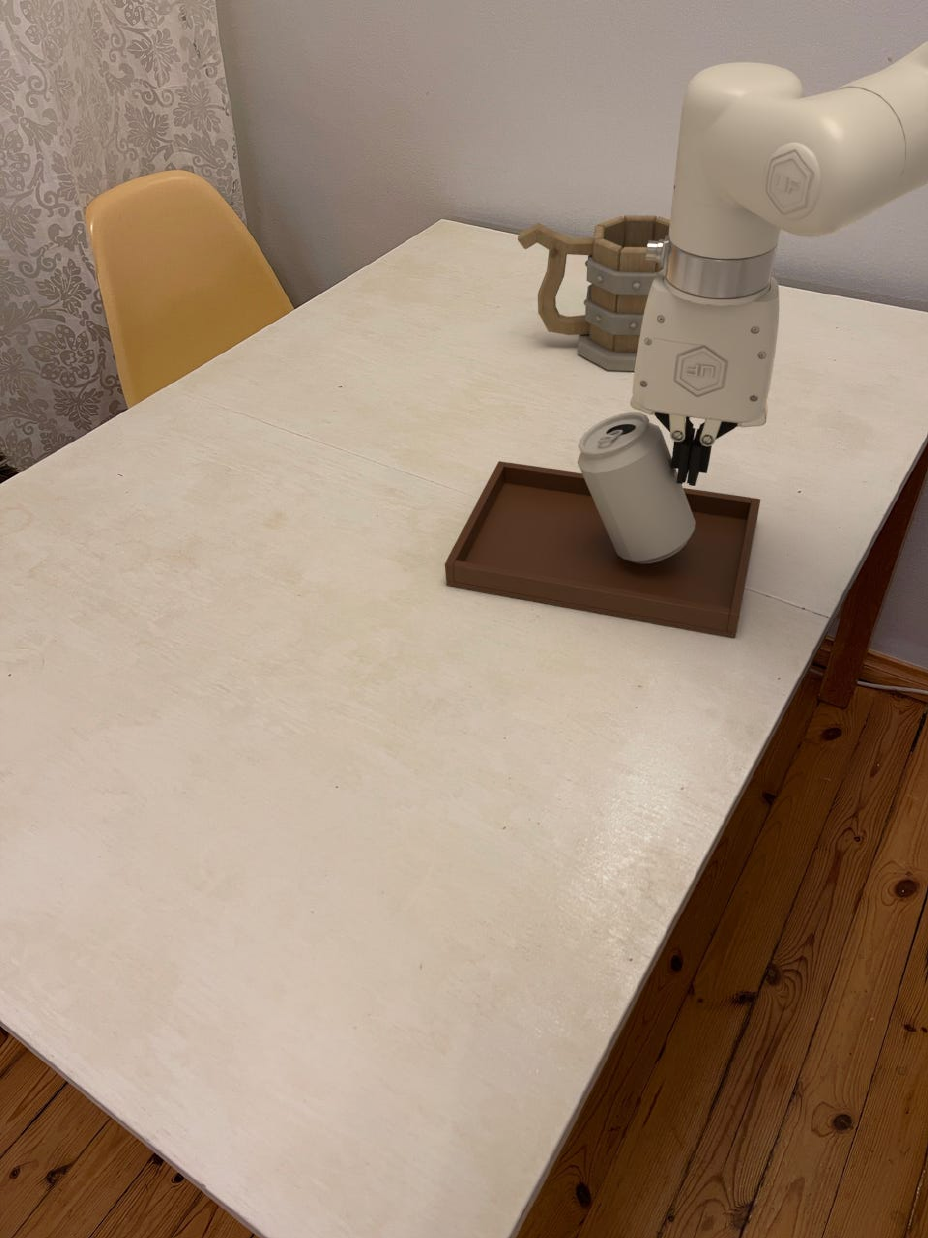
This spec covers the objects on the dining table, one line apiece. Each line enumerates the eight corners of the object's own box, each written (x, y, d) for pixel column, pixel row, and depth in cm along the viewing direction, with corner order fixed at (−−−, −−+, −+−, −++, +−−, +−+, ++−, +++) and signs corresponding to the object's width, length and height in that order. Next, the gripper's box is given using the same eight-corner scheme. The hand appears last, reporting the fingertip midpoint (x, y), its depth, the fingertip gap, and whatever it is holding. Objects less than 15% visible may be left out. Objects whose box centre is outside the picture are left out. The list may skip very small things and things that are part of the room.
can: (714, 519, 86) (671, 403, 80) (671, 572, 83) (623, 455, 76) (645, 516, 91) (601, 407, 85) (603, 566, 88) (553, 455, 82)
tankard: (682, 323, 122) (696, 201, 111) (684, 373, 113) (699, 246, 102) (524, 320, 125) (524, 200, 114) (514, 368, 115) (512, 244, 105)
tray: (756, 521, 92) (760, 498, 90) (735, 638, 81) (739, 615, 79) (499, 482, 99) (498, 460, 97) (446, 585, 87) (444, 563, 86)
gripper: (604, 275, 68) (591, 487, 81) (824, 297, 64) (774, 516, 77) (626, 233, 73) (610, 439, 86) (831, 251, 69) (783, 464, 82)
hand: (688, 475), depth 82 cm, fingers closed
